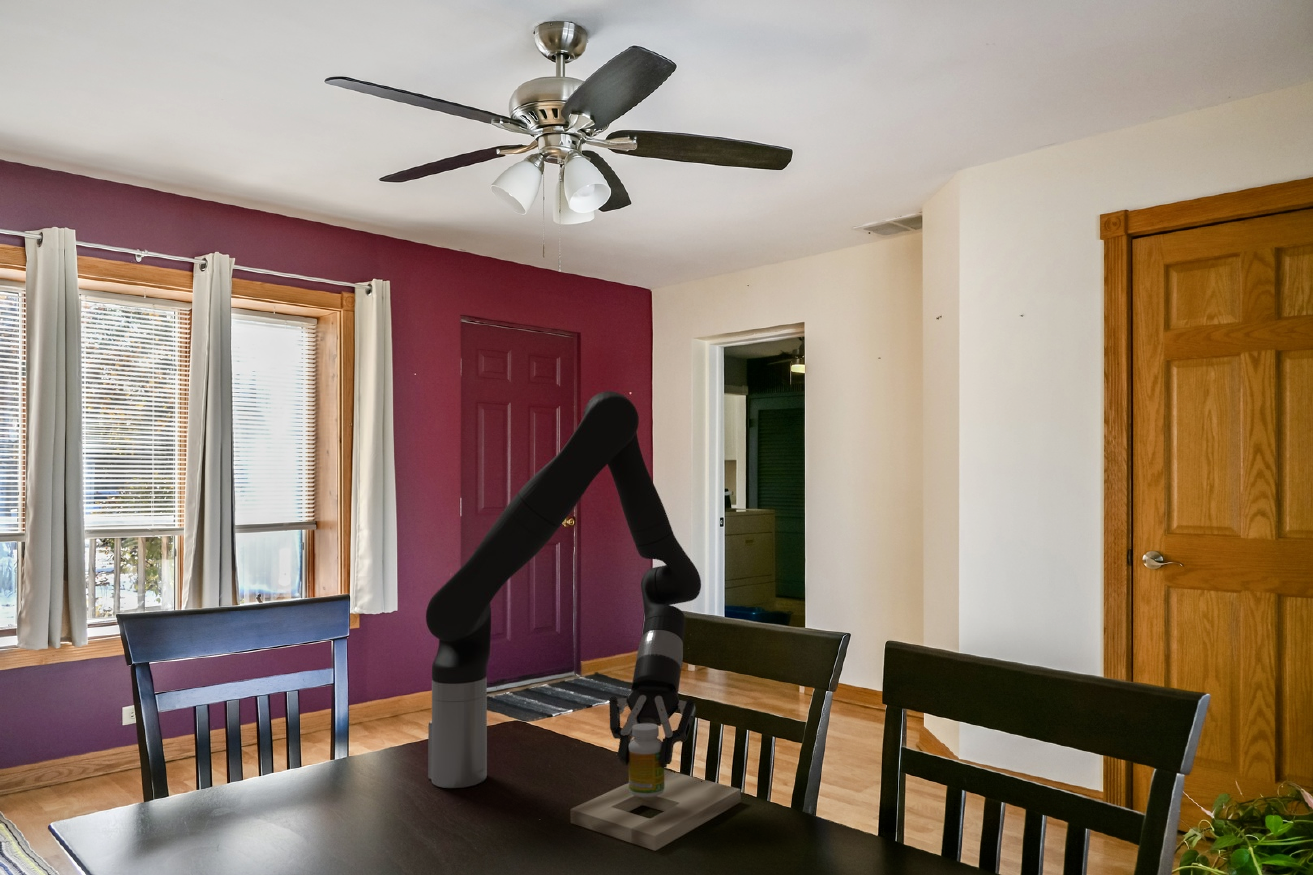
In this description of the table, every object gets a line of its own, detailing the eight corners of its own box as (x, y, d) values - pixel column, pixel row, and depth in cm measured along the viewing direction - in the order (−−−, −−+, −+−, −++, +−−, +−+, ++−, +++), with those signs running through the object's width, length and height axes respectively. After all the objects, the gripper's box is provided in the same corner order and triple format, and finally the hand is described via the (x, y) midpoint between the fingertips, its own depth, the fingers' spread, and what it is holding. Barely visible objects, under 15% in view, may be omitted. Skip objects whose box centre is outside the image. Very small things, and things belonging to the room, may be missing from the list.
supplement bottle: (660, 799, 126) (659, 732, 127) (625, 797, 127) (623, 730, 128) (667, 785, 131) (666, 721, 132) (633, 783, 132) (632, 720, 133)
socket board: (570, 822, 128) (570, 809, 128) (660, 780, 145) (660, 768, 145) (655, 850, 118) (655, 835, 118) (740, 801, 135) (740, 788, 135)
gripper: (611, 651, 139) (592, 749, 127) (699, 653, 136) (687, 754, 124) (620, 676, 144) (602, 773, 132) (704, 679, 141) (694, 778, 129)
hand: (643, 763), depth 128 cm, fingers closed on supplement bottle, 5 cm apart
